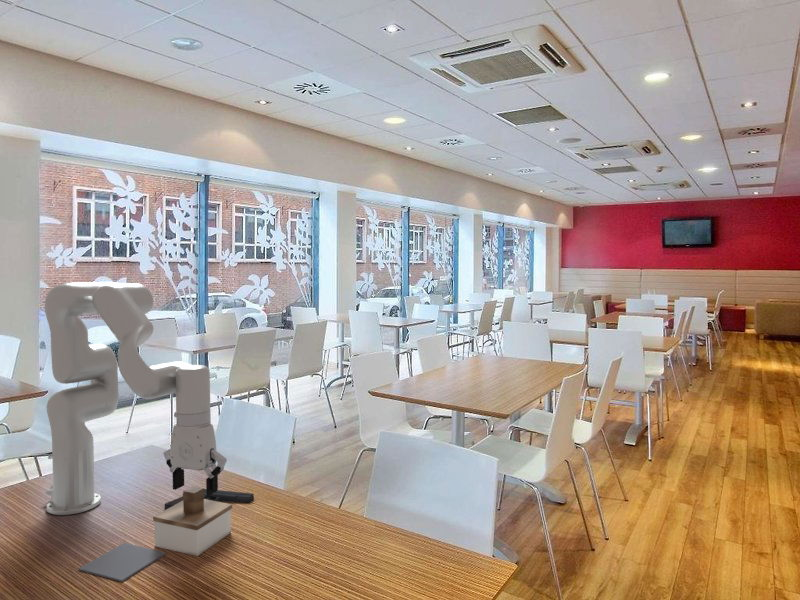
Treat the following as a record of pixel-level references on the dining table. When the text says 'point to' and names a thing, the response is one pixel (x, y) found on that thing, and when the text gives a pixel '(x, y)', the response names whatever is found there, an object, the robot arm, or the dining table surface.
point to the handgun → (219, 497)
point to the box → (192, 535)
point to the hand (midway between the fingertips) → (195, 490)
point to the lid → (193, 510)
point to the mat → (122, 562)
